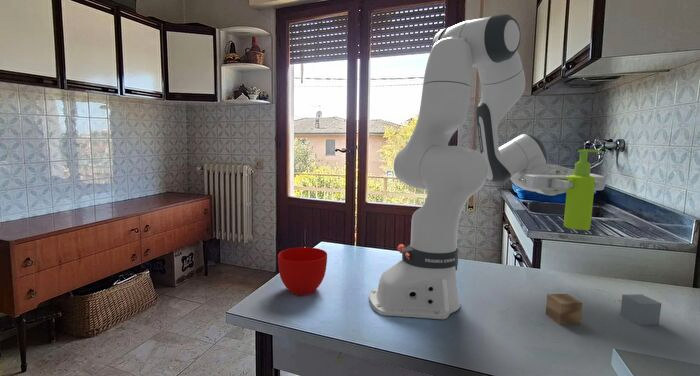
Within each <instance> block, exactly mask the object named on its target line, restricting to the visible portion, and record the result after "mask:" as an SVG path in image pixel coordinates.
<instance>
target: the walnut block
mask: <svg viewBox="0 0 700 376" xmlns="http://www.w3.org/2000/svg"><path fill="white" fill-rule="evenodd" d="M546 294H547V293H546ZM582 312H583V302H581V300H579V299H577V298H575V297H573V296H572V295H571V294H569V293H548V294H547V295H546V304H545V315H546V316H548V317H549V318H550V319H552V320H553V321H554V322H555V323H557V324H558V325H581V321H582Z"/></svg>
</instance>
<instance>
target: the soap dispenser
mask: <svg viewBox="0 0 700 376" xmlns="http://www.w3.org/2000/svg"><path fill="white" fill-rule="evenodd" d="M577 153H579V159H578V160H577V162H574V168H573V169H574V175H570V176H568V181H572V182H573V188H567V192H566V193H565V194H566V195H565V204H564V205H565V206H564V213H563V216H564V217H563V227H565V228H567V229H570V230H571V229H573V230H576V231H577V230H579V231H580V230H581V231H589V230H591V224H592V217H593V205H594V197H595V196H594V195H595V190H594V188H595V177H592V176H590V173H591V167H592V166H591V165H592V163H591V162H590V161H588V156H589V153H599V154H603V153H604V151H602V150H598V149H591V148H589V149H587V148H586V149H583V148H582V149H577Z"/></svg>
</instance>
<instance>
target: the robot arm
mask: <svg viewBox="0 0 700 376" xmlns="http://www.w3.org/2000/svg"><path fill="white" fill-rule="evenodd" d="M520 43H521V29H520V26H519V23H518V21H517V20H516V19H515V18H514V17H513V16H511V15H510V14H507V13H504V14H503V13H500V14H499V13H498V14H493V15H491V16H486V17H481V18H476V19H469V20H465V21H462V22H459V23H457V24H454V25H452V26H446V27H444V28H442V29H440V30H439V31H438V32H437V33H436V34H435V35H434V38H433V39H432V42H431V46H430V53H429V55H428V59H427V62H426V67H425V71H424V75H423V76H424V77H423V83H422V92H421V100H420V107H419V112H418V118H417V121H416V125H415V126H414V129H413V132H412V134H411V136H410V139H408V142H407V144H406V145H405V146H404V147H403V148H402V149H401V150H400V151H399V152H398V153H397V155H396V156H395V158H394V162H393V171H394V175H395V177H396V179H397V180H398V181H400V182H401V183H402V184H405V185H407V186H409V187H411V188H414V189H419V190H426V191H427V194H426V197H425V198H426V199H425V201H424V203H423V205H422V206H421V207H419V208H417V209H416V210H415V211H414V212H413V214H412V215H411V216H412V217H411V225H410V227H411V228H410V244H409V245H407V246H405V244H402V243H400V244H398V246H397V251H398V252H399V253H400V254H401V255H402V256H401V260H399V261H398V262H396V263H395V264H394V265H392V266H391V267H390V268H388V269H386V270H385V271H384V272H382V274H381V275H380V279H379V281H378V286H377V287H376V288H375V287H374V288H373V289H371V290H370V292H369V296H368V299H369V300H368V301H369V304H370V306H371V308H372V309H373V310H374V311H375V312H376V313H377V314H379V315H381V316H390V317H405V318H418V319H431V320H433V319H435V320H447V319H448V318H449V316H450V315H451V314H452V313H453V314H454V313H455V312H457V311H458V310H459V309H460V307H461V302H460V297H459V293H458V291H459V290H458V285H457V283H458V282H457V271H458V265H459V249H458V247H457V243H458V231H459V223H460V217H461V214H462V211H463V209H464V207H465V205H466V204H467V202H468V200H469V199H470V198H471V197H472V196H474V195H475V194H476V193H477V192H479V191H480V190H481V189H482V188H483V186H484V185H485V184H486V181H489V182H492V183H496V184H503V183H505V182H507V181H508V180H509V179H510V181H511V182H512V183H513V184H514V185H515V186H516V187H518V188H520V189H522V190H524V191H525V190H526V191H528V192H535V193H537V194H542V195H546V196H551V197H552V196H556V195H561V194H564V193H565V194H566V193H567V188H573V182H572V181H568V176H570V175H574V169H575V168H571V167H569V168H568V167H565V166H562V165H559V164H552V163H551V164H550V163H548V157H547V151H546V148H545V146H544V144H543V142H542V141H541V140H540V139H539V138H537V137H536V136H534V135H532V134H529V133H521V134H520V135H518V136H516V137H514V138H512V139H510V140H509V141H508V142H505V143H504V144H502V145H501V146H499V145H500V144H499V137H498V127H499V124H500V123H501V121H502V119H503V117H504V116H505V115H506V114H507V113H508V112H509V111H510V110H511V108H513V106H515V105H516V104H517V103H518V101H519V100H520V98H521V97H522V95H523V94H524V92H525V89H526V75H525V70H524V67H523V63H522V59H521V55H520V53H519V51H518V49H519V48H520ZM473 68H476V69H477V73H478V74H477V75H478V77H479V83H480V86H481V95H480V101H479V103H478V104H477V107H476V110H475V111H476V113H475V115H476V116H475V117H476V126H477V134H478V140H479V141H478V144H479V149H480V151H478V150H475V149H472V148H469V147H466V146H461V145H449V143H450V140H451V138H452V137H453V135H454V134H455V133H456V131H458V130H459V129H460V128H462V127H463V126H464V125H465V123H466V122H467V119H468V114H469V107H470V106H469V105H470V97H471V88H472V79H473V77H472V76H473ZM590 176H592V177H595V188H594V191H603V190H605V187H606V177H605V176H604V175H601V174H596V173H591V172H590Z"/></svg>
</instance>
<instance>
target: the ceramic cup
mask: <svg viewBox="0 0 700 376" xmlns="http://www.w3.org/2000/svg"><path fill="white" fill-rule="evenodd" d="M327 263H328V253H327V251H325V250H324V249H321V248H317V247H310V246H309V247H307V246H300V247H291V248H287V249H286V248H285V249H284V250H281V251H280V252H279V253H278V254H277V265H278V271H279V272H278V273H279V276H280V279H281V281H282V284H283V285H284V286H285V287H286V289H287V290H288V291H289V292H290V293H291V294H293V295H296V296H308V295H311V294H314V293H315V292H316V290H317V289H318V288H319V287H320V285H322V282H323V280H324V278H325V275H326V271H327Z"/></svg>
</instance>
